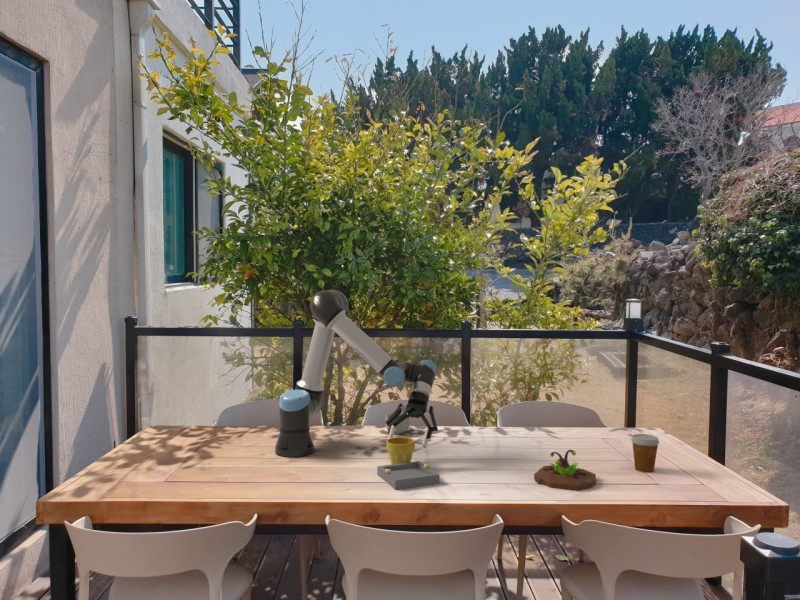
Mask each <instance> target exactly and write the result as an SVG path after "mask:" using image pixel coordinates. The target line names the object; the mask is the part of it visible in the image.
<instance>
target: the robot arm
mask: <svg viewBox="0 0 800 600" xmlns="http://www.w3.org/2000/svg"><path fill="white" fill-rule="evenodd" d="M309 307H310V311H311V314H312V315H313V316H312V317H313V318H312V320H313V322H314V323H315V324H314V328H313V333H312V336H311V341H310V344H309V348H308V351H307V356H306V359H305V364H304V367H303V372H302V376H301V379H299V380H298V381H296V384H295V388H294V389H291V390H287V391H284V392H283V393H282V394H280V396H279V402H278V406H279V434H278V437H277V438H276V439H277V440H276V443H275V446H274V454H276V455H277V456H281V457H286V458H287V457H288V458H296V457H297V458H298V457H305V456H308V455H312V453H314V451H315V445H314V441H313V438H312V434H311V432H310V431H311V430H310V428H311V427H310V419H311V418H312V417H313V416H315V415H317V414H318V413H319V412H320V411H321V409H322V408H323V406H324V401H325V400H324V391H325V387H324V385H323V381H324V377H325V374H326V373H325V372H326V368H327V365H328V361H329V356H330V352H331V349H332V345H333V341H334V337H335V334H336V335H338V336H339V337H340V338H341V339H342V340H343V341H344V342H345V343H346V344H347V345H348V346H350V348H352V349H353V350H354V351H355V352H356V353H357V354H358V355H359V356H360V357H361V358H362V359H363V360H364V361H365V362H366V363H368V365H370V366H371V367H372V369H374V370H375V371H376V372H377V373H378V374H379V375H380V376H381V377H382V378H383V382H384V383H385V385H387V386H389V387H392V388H393V387H395V388H396V387H399V386H400V385H402V384H404V381H405V382H408V383H409V382H410V383H413V384H412V387H411V389H410V394H409V398H408V401H407V404H402V402H401V403H399V404H398V405H397V408H396V409H395V410H394V411H393V412H394V413H393V412H392V413H393V414H392V415H391V416H390V417H389V418H388V419H387V420H385V425H386V424H387V426H389V429H388V430H387V434H388V435H387V436H388V437H387V440H388V439H390V438H394V437H395V436H394V435H395V434H394V432H395V427H396V426H397V425H398V424H400V423H401V422H402V421H403V420H405V419H406V418H409V419H410V418H416V419H419V418H421V420H422V421H423V423H424V424H425V426H426V429H425V432H424V434H423V439H422V443H421V445H422V448H423V449H426V448H427V444H428V442H429V441H428V440H431V438H432V434H433V432H438V431H439V429H438V425H437V421H436V418H435V415H434V414H435V409H434V406H432V405H430V406H429V407H428V404H429V400H430V396H431V392H432V389H433V385H434V382H435V378H436V374H437V368H438V367H437V365H436V364H435V362H433V361H432V360H431V359H430V360H429V359H422V360H420V361H419V362H418V363H412V362H409V361H404V360H399V359H393V357H391V356H390V355H389V354H388V353H387V352H386V351H385V350H383V348H381V346H379V345H378V344H377V343H376V342H375V341H374V340H373V339H372V338H371V337H370V336H369V335H367V334H366V332H364V331H363V330H362V329H361V328H360V327H359V326H358V325H357V324H356V323H355V322H354V321H353V320H352V319H351V318H350V317H349V316H347V315H346V313H347V311H348V308H349V302H348V298H347V297H346V296H345V294H343V293H342V292H341V291H338V290H336V289H329V290H321V291H318V292H316V293H315V294H314V295H313V296H312V298H311V299H310V303H309ZM401 412H403V413H402V414H401ZM407 413H408V414H407ZM425 413H428V414H429V416H430V419H431V423H432V425H431V423H430V422H429V420H428V419H427V418H426V416H425ZM400 414H401V415H400ZM399 415H400V416H399ZM387 440H386V441H387Z"/></svg>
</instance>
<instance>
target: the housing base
mask: <svg viewBox="0 0 800 600" xmlns="http://www.w3.org/2000/svg"><path fill="white" fill-rule="evenodd" d="M376 467H377V469H376V470H377V472H376V473H377V474H376V475H377V476H378V477H379V478H380V479H382V480H383V481H384V482H385V483H387V484H388V485H389V486H390V487H392V488H393V490H402V489H408V488H409V489H410V488H417V487H423V486H430V485H436V484H437V485H438V484H440V473H438V472H436V471H435V470H433V469H431V468H430V464H429V463H425V464H424V463H422V462H421V461H420V460H417V461H411V462H407V463H399V464H391V463H390V464H385V465H377V466H376Z"/></svg>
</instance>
